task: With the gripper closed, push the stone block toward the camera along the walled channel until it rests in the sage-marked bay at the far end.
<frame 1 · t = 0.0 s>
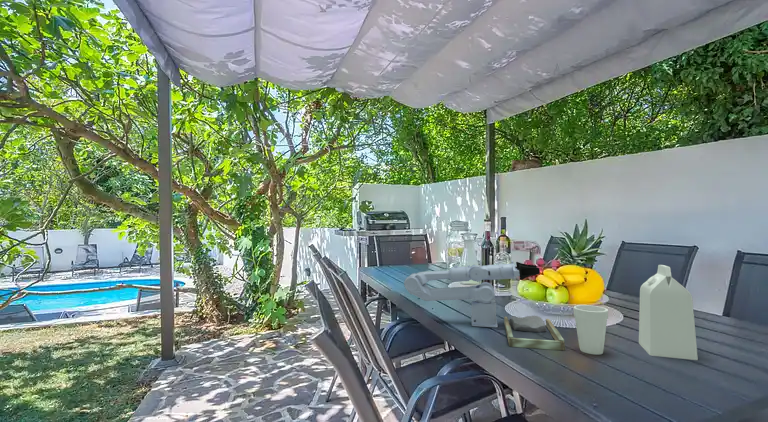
hand: (538, 269, 143), 22 cm above the table, tool horizontal, fingers open, 7 cm apart
stone block: (528, 329, 141), on the table
foam cup: (591, 351, 117), on the table
channel: (531, 335, 133), on the table
milk: (666, 351, 116), on the table
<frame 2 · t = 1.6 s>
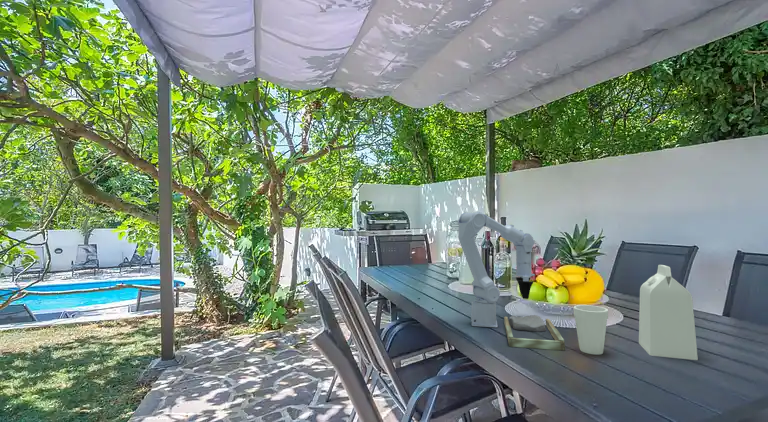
hand: (524, 296, 153), 9 cm above the table, tool pointing down, fingers open, 7 cm apart
nothing on the table moved.
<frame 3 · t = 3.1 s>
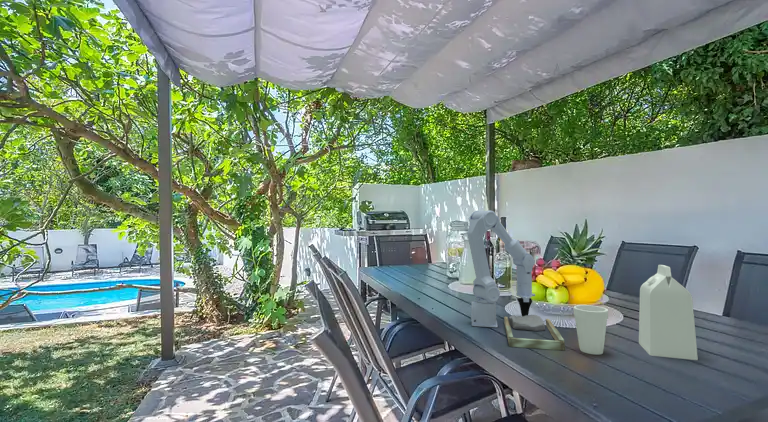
hand: (524, 316, 153), 1 cm above the table, tool pointing down, fingers closed
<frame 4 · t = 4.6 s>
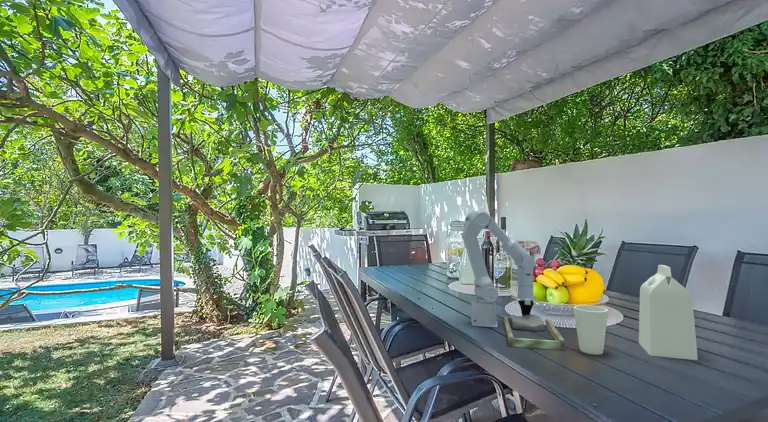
hand: (525, 319, 149), 1 cm above the table, tool pointing down, fingers closed
stone block: (527, 328, 143), on the table, touching gripper
everything else where it was.
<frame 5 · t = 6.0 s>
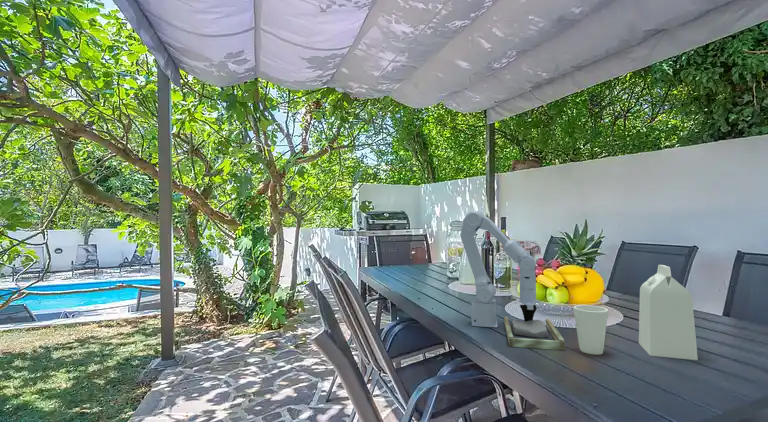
hand: (528, 325, 141), 1 cm above the table, tool pointing down, fingers closed
stone block: (529, 334, 135), on the table, touching gripper
everything else where it was.
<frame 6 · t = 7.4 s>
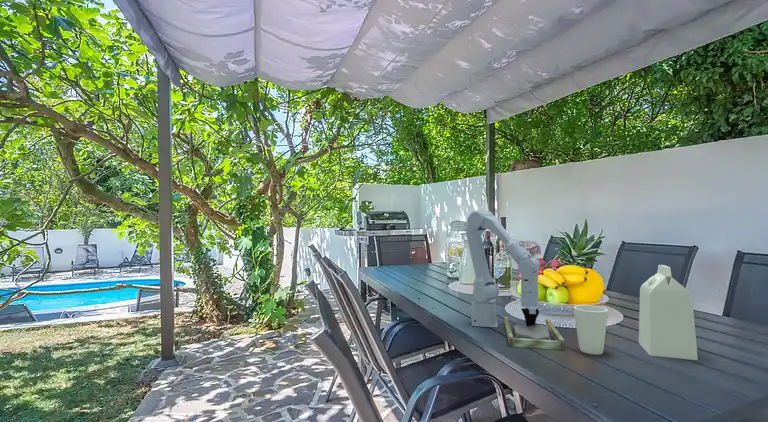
hand: (530, 329, 135), 1 cm above the table, tool pointing down, fingers closed
stone block: (531, 340, 129), on the table, touching gripper
everything else where it was.
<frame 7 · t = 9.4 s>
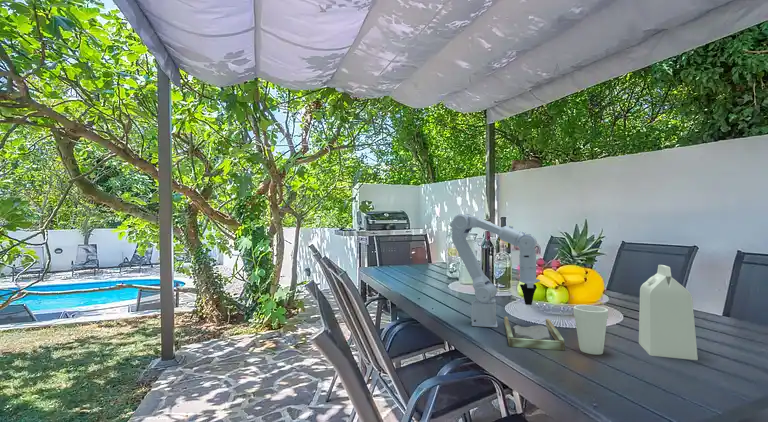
hand: (528, 304, 139), 9 cm above the table, tool pointing down, fingers closed
stone block: (531, 340, 128), on the table
everything else where it was.
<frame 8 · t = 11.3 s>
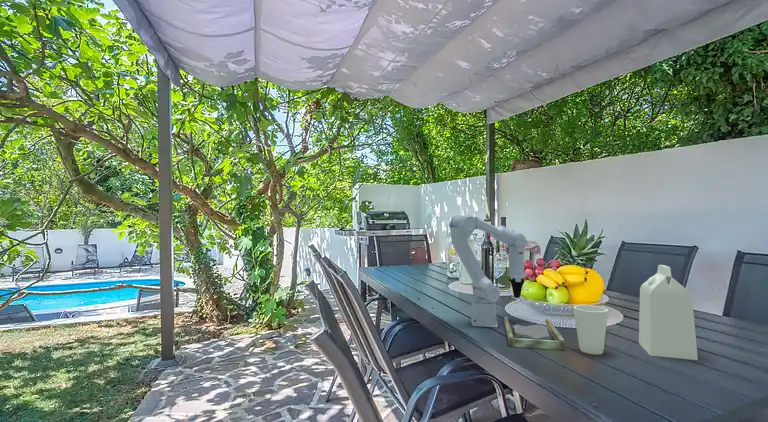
hand: (517, 297, 152), 9 cm above the table, tool pointing down, fingers closed
nothing on the table moved.
at the end: stone block inside the target area (1.7 cm from its centre), on the table; stone block tilted 0° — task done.
